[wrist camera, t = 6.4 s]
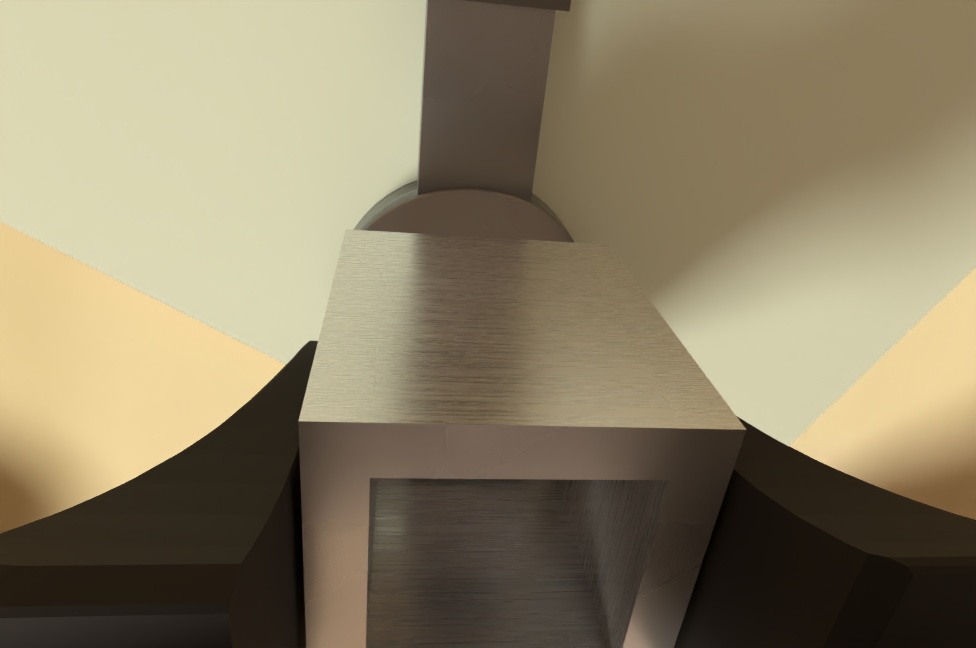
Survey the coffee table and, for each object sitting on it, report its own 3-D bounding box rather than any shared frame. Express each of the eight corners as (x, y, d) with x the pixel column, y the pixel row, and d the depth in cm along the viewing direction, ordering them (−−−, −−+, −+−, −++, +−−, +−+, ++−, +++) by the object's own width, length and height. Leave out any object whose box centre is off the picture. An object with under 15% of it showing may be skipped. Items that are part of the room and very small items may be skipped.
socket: (608, 244, 13) (746, 430, 8) (569, 451, 15) (655, 705, 10) (345, 229, 12) (298, 421, 7) (345, 448, 15) (308, 719, 9)
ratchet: (331, -448, 10) (283, -712, 6) (698, -378, 11) (857, -571, 7) (335, 393, 17) (314, 517, 13) (561, 399, 18) (604, 517, 14)
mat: (1162, 67, 16) (1184, 69, 16) (666, 546, 22) (671, 557, 21) (369, -982, 9) (368, -1036, 8) (-69, 173, 14) (-84, 179, 14)
